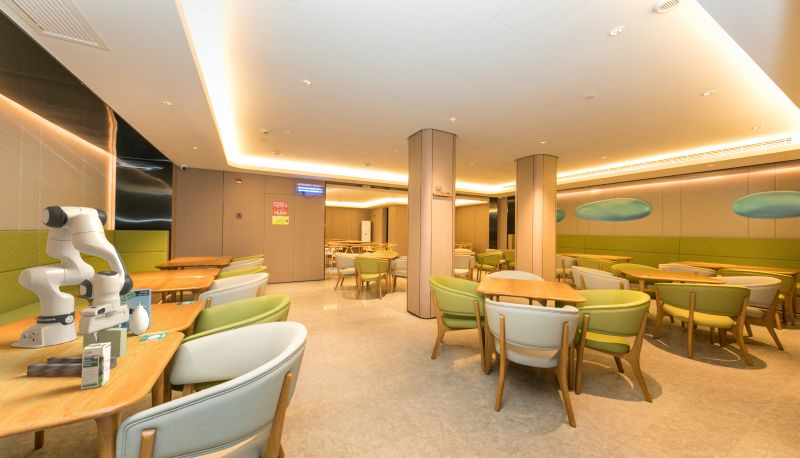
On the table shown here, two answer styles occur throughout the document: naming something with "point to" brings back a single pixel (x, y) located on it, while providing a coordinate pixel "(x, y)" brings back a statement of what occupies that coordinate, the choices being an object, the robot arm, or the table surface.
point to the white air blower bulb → (139, 321)
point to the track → (61, 367)
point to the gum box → (136, 303)
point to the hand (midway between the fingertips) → (105, 337)
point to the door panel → (110, 340)
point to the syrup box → (95, 365)
